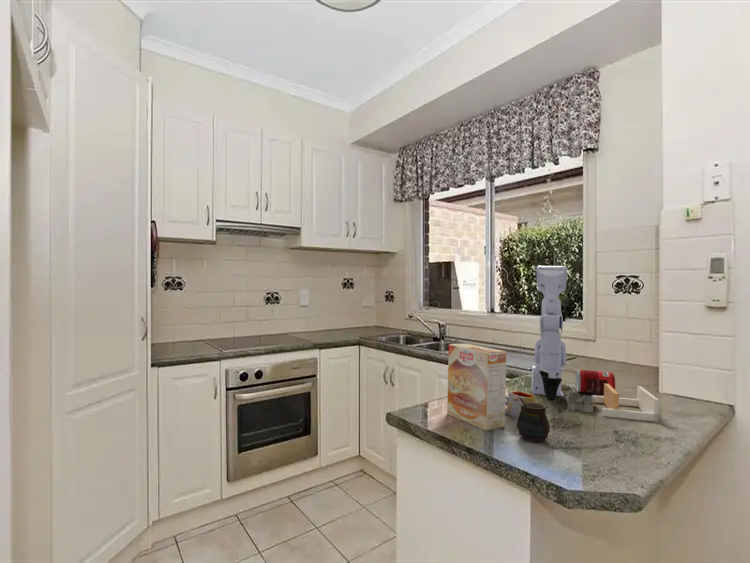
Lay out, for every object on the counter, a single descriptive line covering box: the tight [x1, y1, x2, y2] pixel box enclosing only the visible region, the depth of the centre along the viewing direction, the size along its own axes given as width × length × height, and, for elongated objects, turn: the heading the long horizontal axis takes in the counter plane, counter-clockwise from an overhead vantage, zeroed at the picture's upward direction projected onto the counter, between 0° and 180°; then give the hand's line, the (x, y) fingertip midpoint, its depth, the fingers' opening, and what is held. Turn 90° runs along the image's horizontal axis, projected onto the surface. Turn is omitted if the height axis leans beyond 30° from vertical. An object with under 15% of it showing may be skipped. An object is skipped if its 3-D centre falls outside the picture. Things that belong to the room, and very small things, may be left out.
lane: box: [591, 385, 660, 423], centre depth 123 cm, size 14×16×6 cm
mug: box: [505, 390, 536, 421], centre depth 116 cm, size 12×7×7 cm, turn 53°
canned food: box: [575, 369, 616, 396], centre depth 143 cm, size 8×8×11 cm
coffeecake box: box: [446, 342, 507, 431], centre depth 111 cm, size 15×7×20 cm, turn 31°
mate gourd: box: [516, 398, 551, 443], centre depth 99 cm, size 7×8×10 cm
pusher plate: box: [603, 384, 620, 410], centre depth 124 cm, size 1×13×6 cm, turn 163°
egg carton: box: [566, 389, 596, 413], centre depth 126 cm, size 11×8×4 cm
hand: (549, 397), depth 129 cm, fingers open, 7 cm apart
